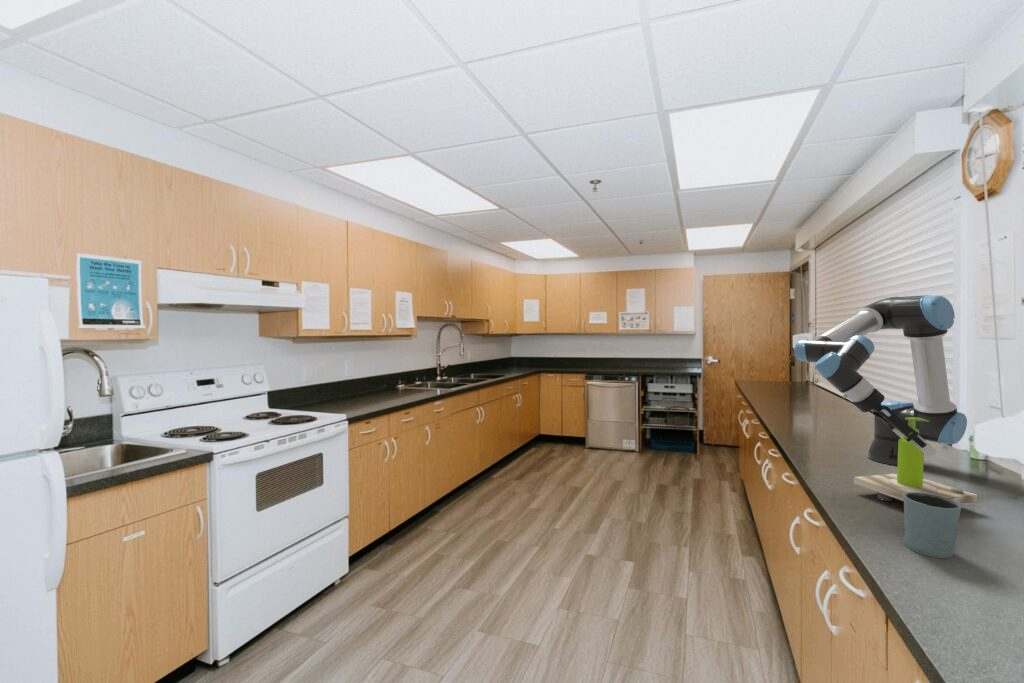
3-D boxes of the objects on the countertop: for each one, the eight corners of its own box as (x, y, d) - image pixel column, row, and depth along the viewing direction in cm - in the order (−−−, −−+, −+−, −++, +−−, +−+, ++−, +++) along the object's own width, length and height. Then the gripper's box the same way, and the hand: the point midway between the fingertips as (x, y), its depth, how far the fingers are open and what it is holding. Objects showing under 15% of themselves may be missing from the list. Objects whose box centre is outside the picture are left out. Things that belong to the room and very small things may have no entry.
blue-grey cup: (901, 536, 118) (903, 488, 118) (957, 548, 112) (959, 498, 111) (902, 551, 110) (903, 500, 110) (961, 565, 104) (963, 511, 103)
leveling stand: (904, 488, 153) (905, 471, 153) (976, 512, 133) (977, 492, 133) (853, 492, 149) (853, 475, 148) (920, 518, 129) (920, 497, 129)
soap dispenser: (931, 488, 138) (934, 420, 137) (904, 486, 139) (906, 419, 138) (918, 481, 143) (921, 416, 143) (892, 480, 145) (895, 415, 144)
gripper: (842, 397, 157) (896, 446, 152) (864, 410, 134) (929, 468, 129) (862, 382, 155) (917, 432, 150) (888, 392, 132) (955, 451, 127)
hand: (923, 449), depth 139 cm, fingers open, 13 cm apart
